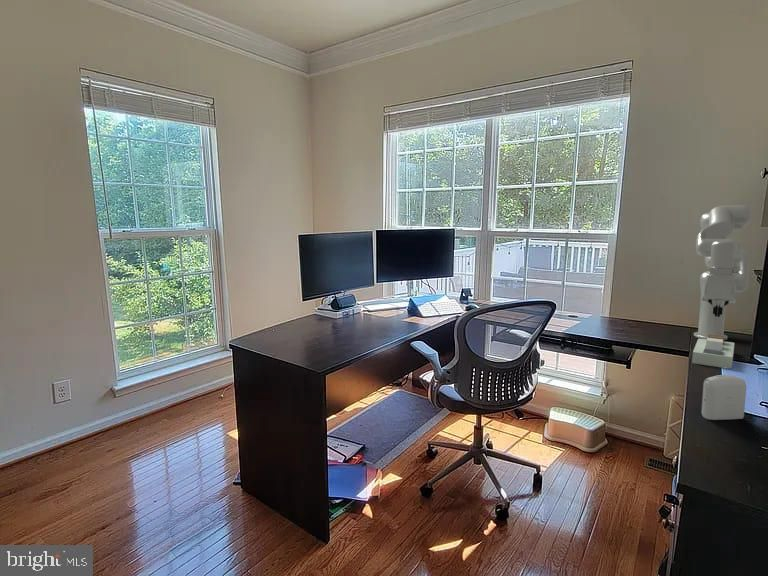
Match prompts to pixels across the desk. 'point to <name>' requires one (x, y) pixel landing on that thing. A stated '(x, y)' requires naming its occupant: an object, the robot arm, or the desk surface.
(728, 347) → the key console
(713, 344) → the white key
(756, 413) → the desk surface
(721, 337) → the walnut key
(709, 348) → the slate key
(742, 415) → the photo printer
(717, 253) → the robot arm
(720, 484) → the desk surface
